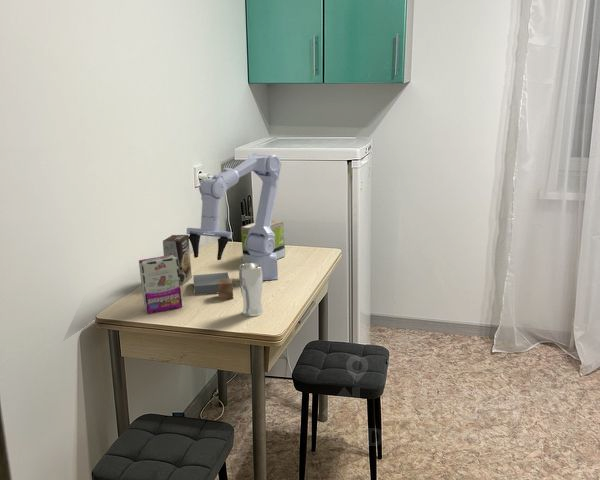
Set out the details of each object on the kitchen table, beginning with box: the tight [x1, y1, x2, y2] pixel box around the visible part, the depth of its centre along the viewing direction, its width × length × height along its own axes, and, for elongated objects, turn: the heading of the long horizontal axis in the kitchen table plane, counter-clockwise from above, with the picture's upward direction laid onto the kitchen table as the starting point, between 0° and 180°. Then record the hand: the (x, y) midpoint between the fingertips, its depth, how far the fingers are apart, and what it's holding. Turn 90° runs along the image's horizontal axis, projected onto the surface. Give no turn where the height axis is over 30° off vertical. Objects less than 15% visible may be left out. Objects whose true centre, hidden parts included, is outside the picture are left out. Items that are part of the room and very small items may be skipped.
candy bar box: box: [138, 255, 183, 315], centre depth 182 cm, size 11×5×16 cm, turn 117°
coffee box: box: [162, 234, 193, 286], centre depth 208 cm, size 9×6×16 cm
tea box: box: [240, 219, 286, 264], centre depth 231 cm, size 15×10×15 cm, turn 144°
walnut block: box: [217, 278, 234, 301], centre depth 192 cm, size 4×4×6 cm
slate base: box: [192, 272, 230, 296], centre depth 202 cm, size 12×12×3 cm
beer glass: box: [238, 263, 264, 318], centre depth 177 cm, size 7×7×15 cm
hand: (207, 258), depth 190 cm, fingers open, 7 cm apart
